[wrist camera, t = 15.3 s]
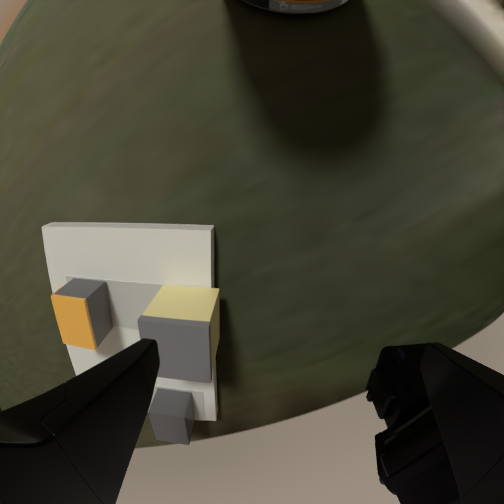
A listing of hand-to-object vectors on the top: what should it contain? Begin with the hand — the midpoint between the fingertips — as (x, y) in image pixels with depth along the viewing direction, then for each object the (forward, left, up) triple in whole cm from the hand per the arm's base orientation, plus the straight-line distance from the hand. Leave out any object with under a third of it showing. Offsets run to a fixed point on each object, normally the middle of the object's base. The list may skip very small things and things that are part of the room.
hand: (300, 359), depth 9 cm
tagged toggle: (+14, +5, -11) cm, 19 cm away
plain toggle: (+8, +15, -11) cm, 20 cm away
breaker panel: (+11, +8, -13) cm, 19 cm away
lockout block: (+6, +5, -11) cm, 14 cm away
